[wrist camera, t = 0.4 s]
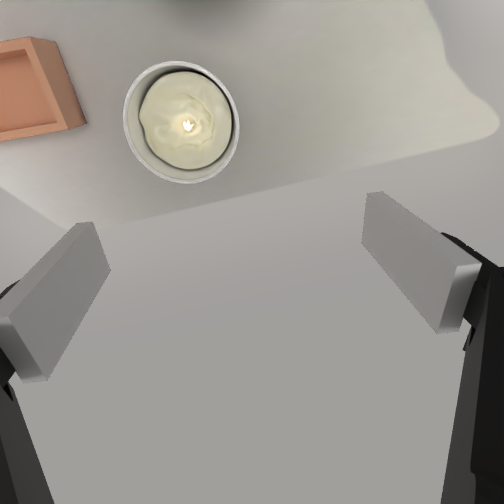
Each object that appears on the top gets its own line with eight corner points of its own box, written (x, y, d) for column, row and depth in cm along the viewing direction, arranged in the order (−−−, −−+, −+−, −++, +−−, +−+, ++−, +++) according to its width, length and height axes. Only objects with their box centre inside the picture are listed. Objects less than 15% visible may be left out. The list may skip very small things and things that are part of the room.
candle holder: (164, 162, 39) (143, 192, 29) (139, 73, 34) (103, 71, 24) (241, 149, 39) (247, 175, 29) (227, 59, 34) (228, 50, 24)
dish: (-48, 60, 32) (-90, 57, 28) (55, 42, 32) (29, 36, 28) (-6, 139, 36) (-37, 147, 32) (86, 123, 36) (68, 129, 32)
